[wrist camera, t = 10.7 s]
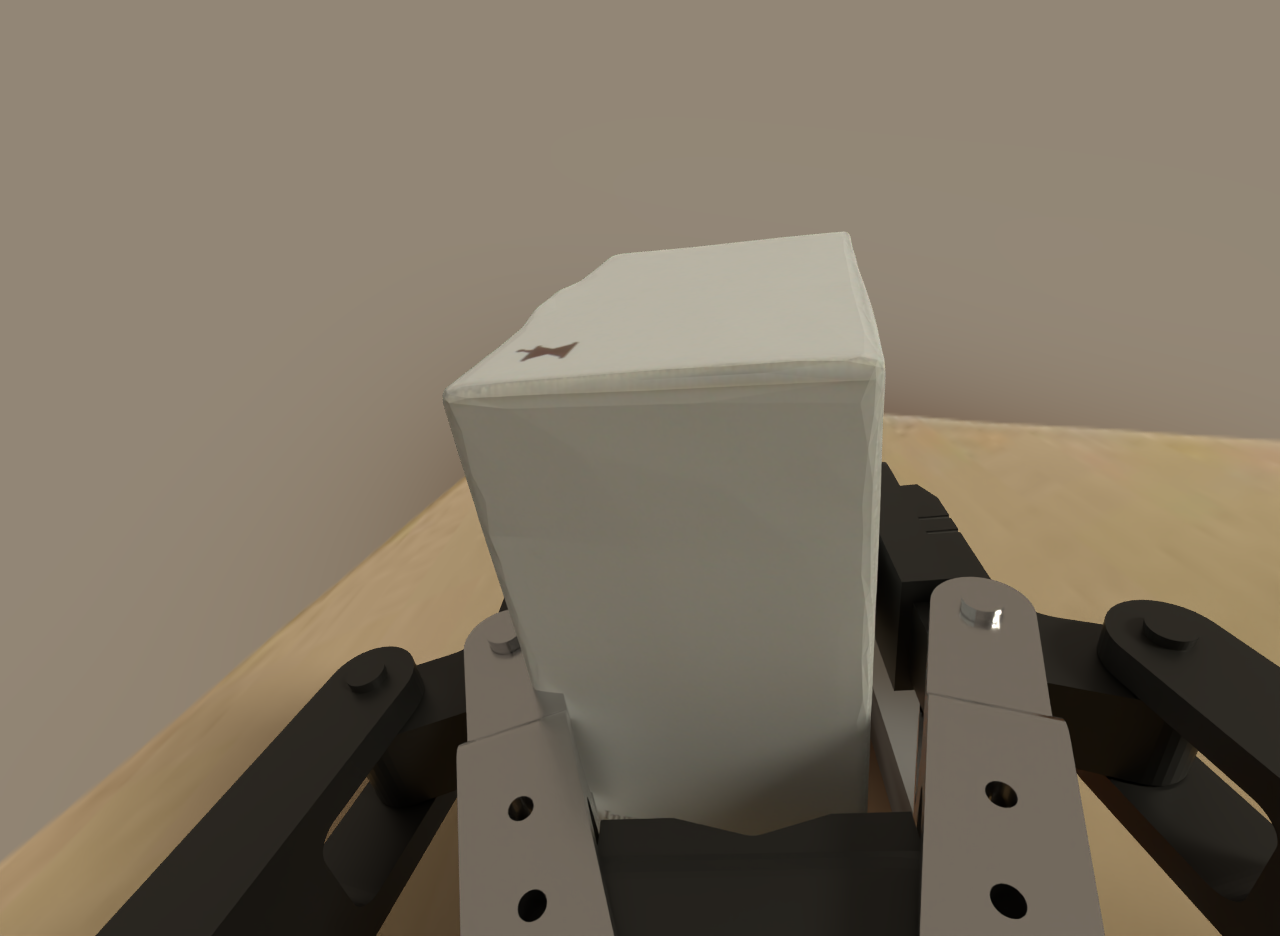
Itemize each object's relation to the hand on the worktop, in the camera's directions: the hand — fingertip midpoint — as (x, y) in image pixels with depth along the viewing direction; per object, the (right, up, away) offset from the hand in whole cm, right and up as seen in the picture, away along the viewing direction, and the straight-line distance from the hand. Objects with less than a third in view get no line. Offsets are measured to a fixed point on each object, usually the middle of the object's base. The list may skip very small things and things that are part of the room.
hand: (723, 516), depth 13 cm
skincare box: (+1, -7, +1) cm, 7 cm away
